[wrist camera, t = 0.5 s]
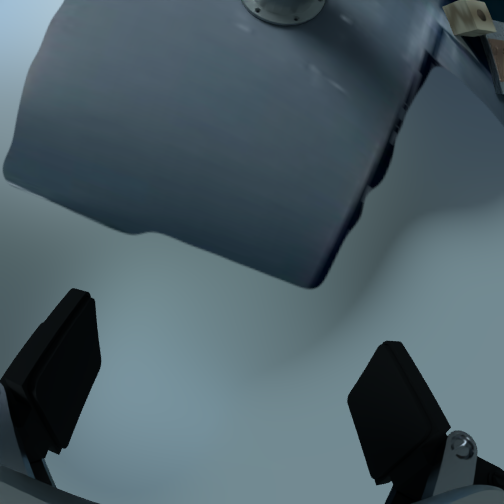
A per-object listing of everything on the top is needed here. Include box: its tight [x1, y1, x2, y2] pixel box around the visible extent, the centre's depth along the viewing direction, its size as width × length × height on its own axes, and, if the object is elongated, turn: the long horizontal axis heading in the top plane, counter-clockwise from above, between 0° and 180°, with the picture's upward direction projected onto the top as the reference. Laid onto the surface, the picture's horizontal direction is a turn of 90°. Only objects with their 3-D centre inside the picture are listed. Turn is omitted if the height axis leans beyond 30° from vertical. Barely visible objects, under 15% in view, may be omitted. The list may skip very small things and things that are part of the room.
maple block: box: [443, 0, 496, 37], centre depth 27 cm, size 6×6×7 cm
